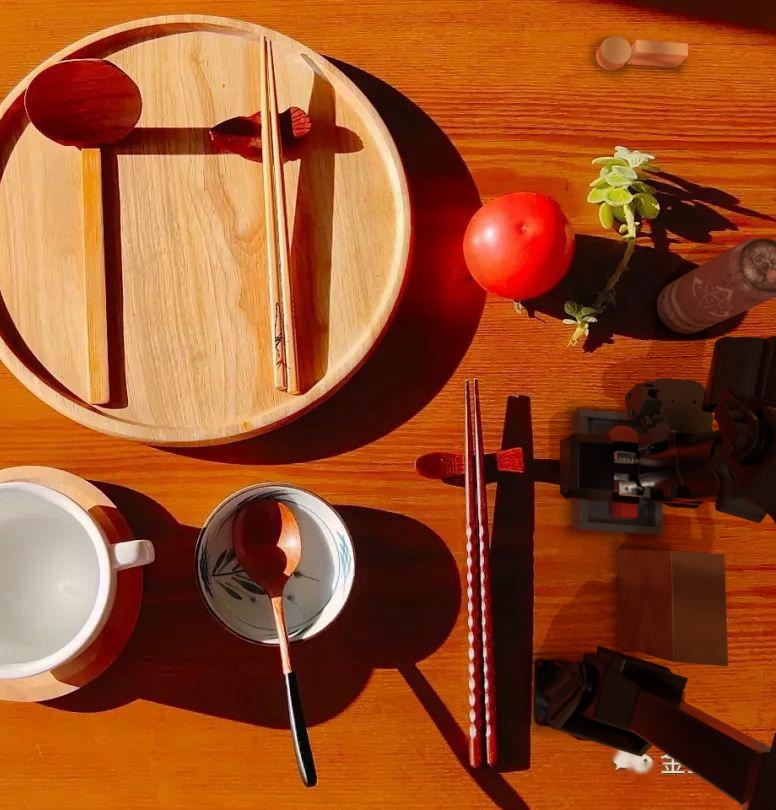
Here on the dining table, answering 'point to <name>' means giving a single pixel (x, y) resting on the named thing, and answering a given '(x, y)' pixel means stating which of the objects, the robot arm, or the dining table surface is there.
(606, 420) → the tray
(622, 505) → the red spoon
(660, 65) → the birch spoon
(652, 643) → the stand
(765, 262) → the can
